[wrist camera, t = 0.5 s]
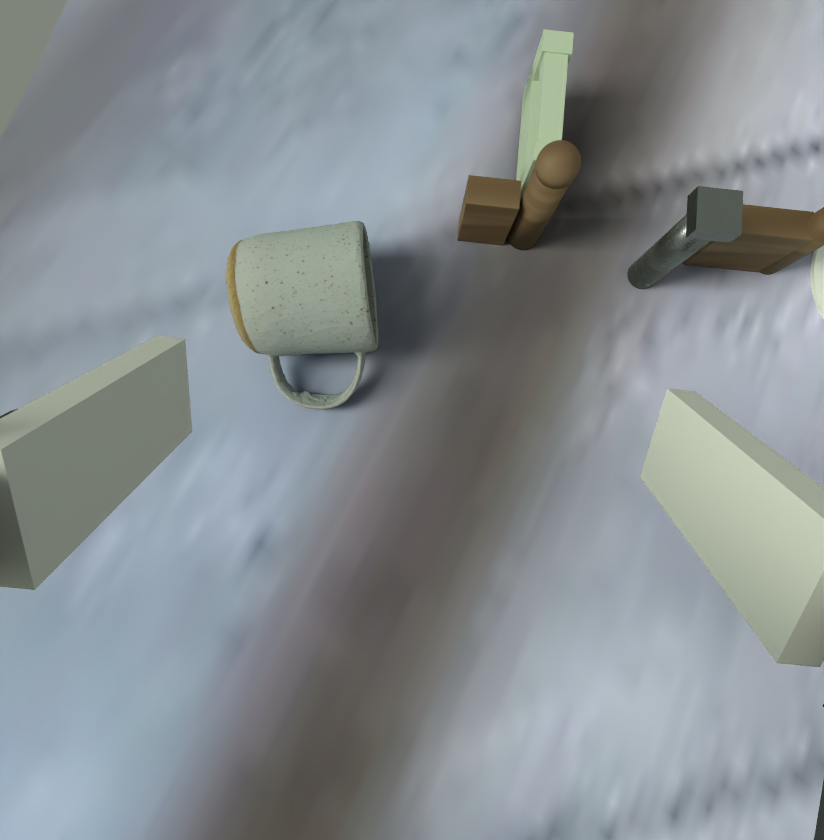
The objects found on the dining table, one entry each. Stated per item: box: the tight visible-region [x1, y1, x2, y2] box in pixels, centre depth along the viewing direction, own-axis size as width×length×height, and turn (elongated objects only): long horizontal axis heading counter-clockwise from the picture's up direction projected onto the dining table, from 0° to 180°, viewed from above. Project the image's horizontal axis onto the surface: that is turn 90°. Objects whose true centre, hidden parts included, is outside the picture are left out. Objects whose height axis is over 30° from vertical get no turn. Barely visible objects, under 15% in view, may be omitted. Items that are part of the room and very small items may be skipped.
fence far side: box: [684, 205, 824, 274], centre depth 33 cm, size 2×7×7 cm, turn 84°
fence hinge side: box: [458, 140, 581, 250], centre depth 32 cm, size 2×6×10 cm, turn 84°
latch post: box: [628, 186, 743, 289], centre depth 32 cm, size 2×2×9 cm
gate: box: [516, 30, 574, 200], centre depth 34 cm, size 8×2×6 cm, turn 174°
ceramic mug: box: [226, 221, 378, 409], centre depth 32 cm, size 11×8×8 cm
